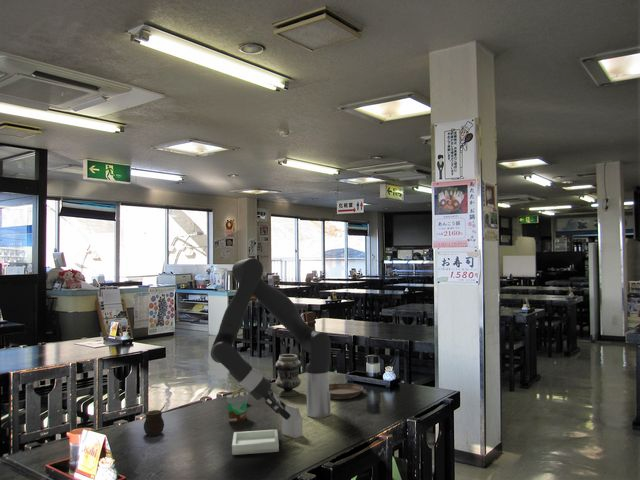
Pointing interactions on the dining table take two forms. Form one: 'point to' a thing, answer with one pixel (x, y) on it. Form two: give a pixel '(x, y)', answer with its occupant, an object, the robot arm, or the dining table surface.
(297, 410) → the tea bag
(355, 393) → the plant saucer
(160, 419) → the mate gourd
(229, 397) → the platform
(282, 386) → the apothecary jar
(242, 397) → the food container
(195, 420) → the dining table surface
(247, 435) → the tray
